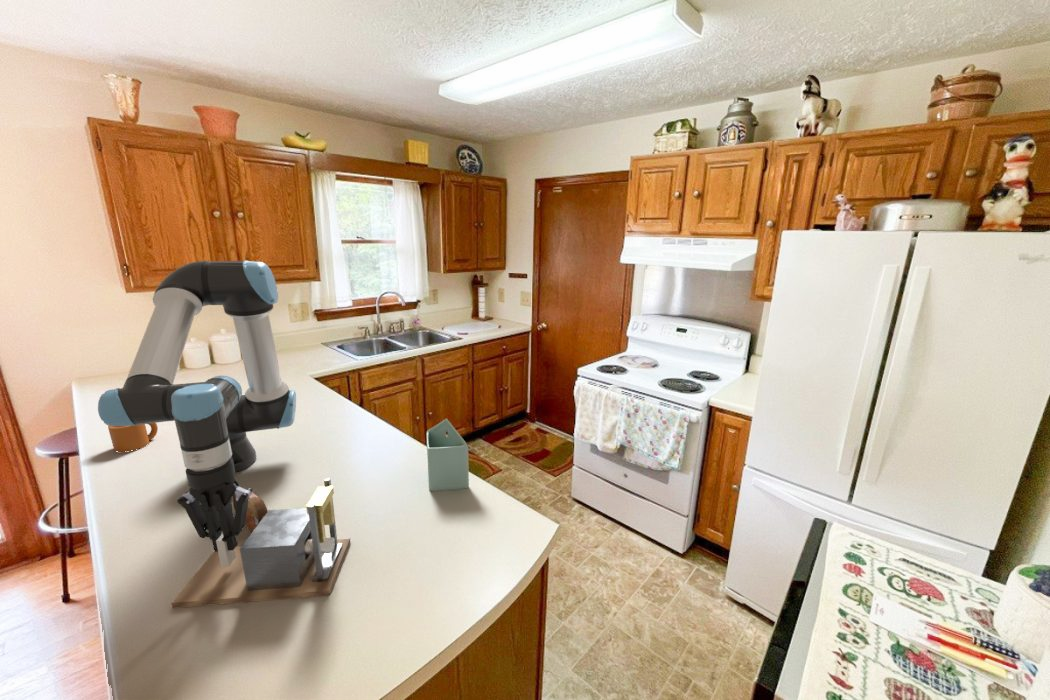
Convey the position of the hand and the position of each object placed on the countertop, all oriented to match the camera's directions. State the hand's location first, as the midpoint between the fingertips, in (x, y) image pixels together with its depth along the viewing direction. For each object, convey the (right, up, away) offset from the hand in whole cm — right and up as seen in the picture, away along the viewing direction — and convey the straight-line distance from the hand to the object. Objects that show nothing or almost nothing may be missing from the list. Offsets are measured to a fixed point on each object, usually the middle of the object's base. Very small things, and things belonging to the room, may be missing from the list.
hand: (228, 561), depth 87 cm
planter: (+37, +5, +35) cm, 52 cm away
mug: (-70, +12, +54) cm, 89 cm away
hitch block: (+14, -2, +2) cm, 14 cm away
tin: (-6, +1, +16) cm, 17 cm away
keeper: (+20, +6, +1) cm, 21 cm away
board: (+8, -3, +2) cm, 9 cm away
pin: (+13, 0, +2) cm, 13 cm away
